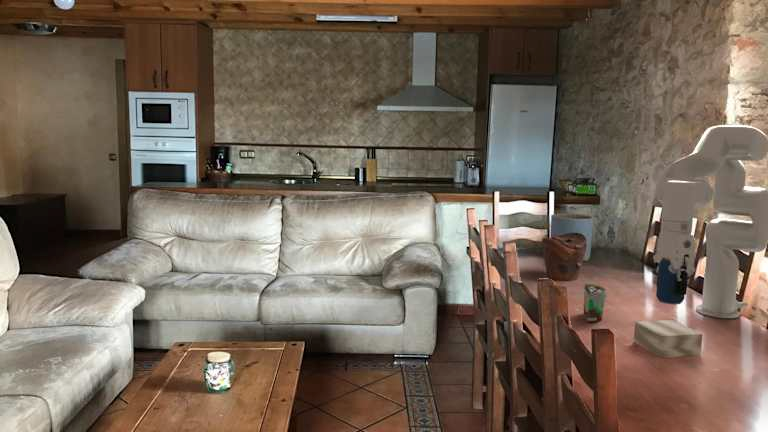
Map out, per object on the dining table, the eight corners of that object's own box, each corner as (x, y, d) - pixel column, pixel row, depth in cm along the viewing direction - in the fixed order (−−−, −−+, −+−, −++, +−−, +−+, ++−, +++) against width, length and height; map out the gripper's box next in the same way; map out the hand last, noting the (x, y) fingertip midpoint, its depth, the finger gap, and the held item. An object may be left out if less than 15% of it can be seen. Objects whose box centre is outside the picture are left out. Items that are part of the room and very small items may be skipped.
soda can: (682, 306, 157) (686, 262, 155) (654, 302, 161) (657, 259, 159) (685, 300, 163) (689, 258, 161) (657, 296, 167) (661, 254, 165)
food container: (608, 325, 182) (610, 294, 181) (587, 324, 184) (589, 293, 182) (602, 313, 194) (604, 284, 193) (582, 312, 196) (584, 283, 194)
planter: (596, 262, 270) (599, 219, 268) (555, 262, 271) (557, 219, 268) (583, 254, 289) (586, 213, 286) (544, 253, 290) (546, 213, 287)
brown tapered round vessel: (535, 279, 237) (538, 235, 235) (542, 269, 256) (545, 228, 253) (582, 285, 231) (586, 240, 228) (585, 274, 249) (589, 232, 247)
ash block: (671, 339, 171) (673, 319, 170) (700, 355, 159) (702, 334, 158) (633, 341, 169) (635, 321, 168) (660, 357, 157) (661, 336, 156)
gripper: (711, 231, 151) (705, 299, 154) (668, 221, 168) (663, 282, 170) (685, 232, 150) (679, 300, 152) (644, 221, 167) (639, 283, 169)
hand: (670, 290), depth 161 cm, fingers closed on soda can, 6 cm apart
